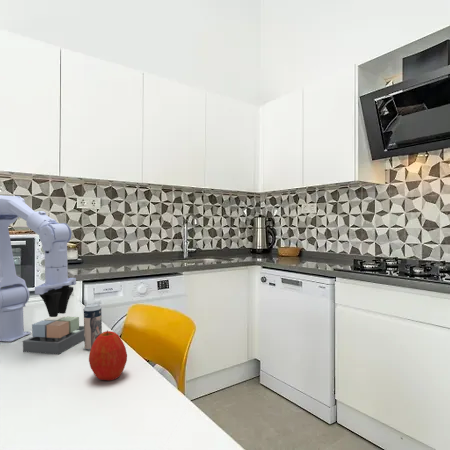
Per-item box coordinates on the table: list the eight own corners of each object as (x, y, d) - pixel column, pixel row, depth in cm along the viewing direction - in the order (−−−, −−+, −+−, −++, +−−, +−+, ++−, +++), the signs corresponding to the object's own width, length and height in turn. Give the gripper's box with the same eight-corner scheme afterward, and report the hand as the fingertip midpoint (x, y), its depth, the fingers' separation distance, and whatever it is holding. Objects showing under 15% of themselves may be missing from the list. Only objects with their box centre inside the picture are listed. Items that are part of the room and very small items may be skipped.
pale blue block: (32, 336, 97) (32, 324, 97) (42, 332, 101) (42, 320, 101) (44, 337, 96) (44, 325, 96) (54, 332, 100) (54, 321, 100)
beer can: (96, 351, 95) (95, 307, 95) (80, 350, 96) (79, 307, 96) (105, 345, 100) (104, 303, 99) (90, 344, 101) (89, 302, 100)
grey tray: (23, 352, 95) (22, 340, 95) (59, 334, 110) (59, 323, 110) (58, 354, 93) (58, 342, 93) (91, 336, 108) (90, 325, 108)
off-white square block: (44, 331, 102) (44, 319, 102) (53, 327, 106) (53, 315, 106) (56, 331, 101) (56, 320, 101) (65, 327, 105) (65, 316, 105)
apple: (88, 373, 81) (87, 327, 81) (125, 366, 85) (124, 322, 84) (90, 388, 74) (88, 338, 74) (129, 380, 77) (128, 332, 77)
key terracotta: (46, 337, 96) (46, 325, 96) (56, 332, 100) (56, 321, 100) (59, 338, 95) (59, 325, 95) (68, 333, 99) (68, 321, 99)
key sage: (58, 331, 101) (58, 320, 101) (67, 327, 105) (67, 316, 105) (70, 332, 100) (70, 320, 100) (79, 328, 104) (78, 317, 104)
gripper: (51, 270, 90) (52, 323, 90) (84, 263, 104) (85, 308, 104) (27, 270, 91) (28, 321, 91) (63, 263, 105) (64, 308, 105)
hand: (57, 314), depth 98 cm, fingers open, 3 cm apart
